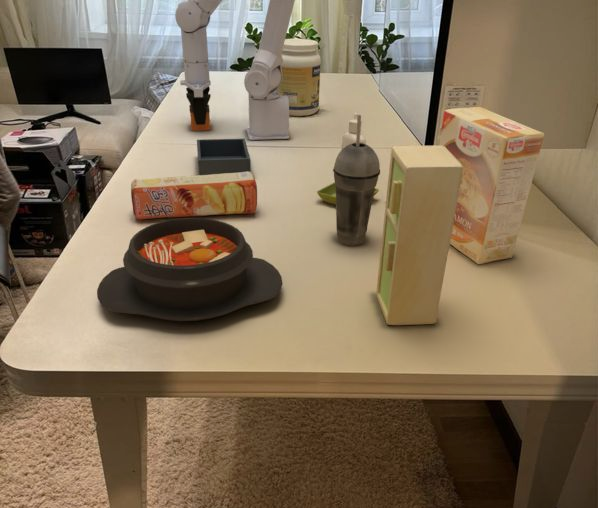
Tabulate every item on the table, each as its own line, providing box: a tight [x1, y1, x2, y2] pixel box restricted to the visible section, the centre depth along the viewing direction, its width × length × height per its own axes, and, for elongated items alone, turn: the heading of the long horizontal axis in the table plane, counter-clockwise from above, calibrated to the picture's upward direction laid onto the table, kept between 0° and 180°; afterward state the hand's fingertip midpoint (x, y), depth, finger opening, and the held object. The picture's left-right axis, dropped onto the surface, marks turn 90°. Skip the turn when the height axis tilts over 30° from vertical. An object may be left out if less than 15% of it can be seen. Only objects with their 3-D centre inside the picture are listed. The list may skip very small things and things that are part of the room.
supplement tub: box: [278, 38, 322, 117], centre depth 157 cm, size 12×12×17 cm
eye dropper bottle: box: [341, 112, 367, 150], centre depth 120 cm, size 4×6×12 cm
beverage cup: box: [332, 114, 381, 246], centre depth 92 cm, size 7×7×20 cm
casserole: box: [96, 217, 283, 322], centre depth 80 cm, size 25×19×8 cm
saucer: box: [316, 181, 380, 206], centre depth 111 cm, size 9×9×2 cm
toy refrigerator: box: [375, 145, 463, 326], centre depth 75 cm, size 8×7×21 cm
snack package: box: [130, 171, 258, 220], centre depth 103 cm, size 21×7×7 cm, turn 100°
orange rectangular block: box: [189, 104, 211, 132], centre depth 145 cm, size 5×4×5 cm
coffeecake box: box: [438, 106, 545, 265], centre depth 93 cm, size 15×7×20 cm, turn 23°
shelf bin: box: [196, 137, 252, 175], centre depth 123 cm, size 10×13×4 cm
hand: (200, 121), depth 146 cm, fingers open, 4 cm apart
